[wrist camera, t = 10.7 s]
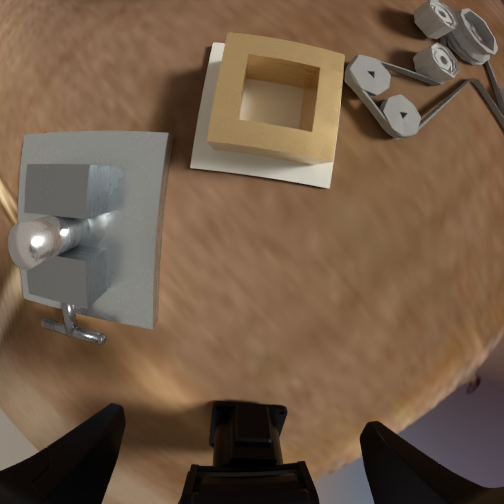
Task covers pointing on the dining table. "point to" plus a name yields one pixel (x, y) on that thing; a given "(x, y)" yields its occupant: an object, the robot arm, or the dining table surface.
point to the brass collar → (287, 73)
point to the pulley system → (428, 67)
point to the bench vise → (92, 225)
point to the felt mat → (257, 110)
